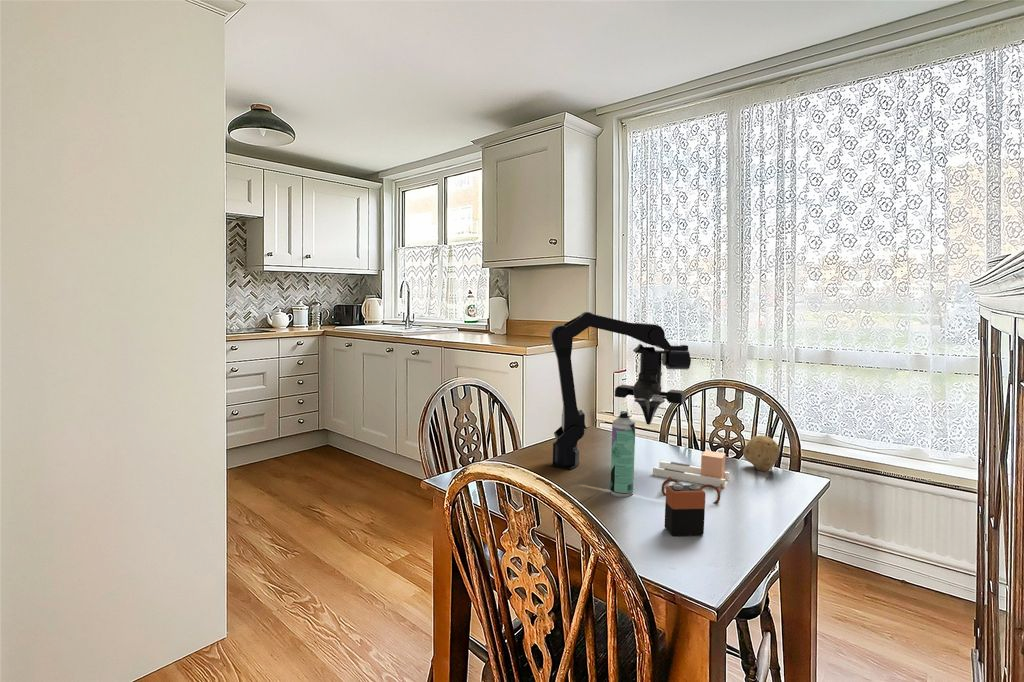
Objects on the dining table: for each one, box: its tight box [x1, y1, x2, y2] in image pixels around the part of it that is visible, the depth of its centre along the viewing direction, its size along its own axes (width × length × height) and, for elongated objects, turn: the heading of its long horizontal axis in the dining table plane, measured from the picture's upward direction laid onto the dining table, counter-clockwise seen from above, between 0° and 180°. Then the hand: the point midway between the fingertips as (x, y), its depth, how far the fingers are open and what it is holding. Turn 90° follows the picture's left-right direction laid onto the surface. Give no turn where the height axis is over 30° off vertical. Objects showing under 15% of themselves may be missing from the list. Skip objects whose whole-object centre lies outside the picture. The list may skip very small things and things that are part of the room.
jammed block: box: [700, 450, 727, 479], centre depth 141 cm, size 5×5×7 cm
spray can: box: [609, 410, 636, 498], centre depth 132 cm, size 6×6×20 cm
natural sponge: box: [742, 434, 780, 472], centre depth 151 cm, size 9×9×10 cm
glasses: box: [661, 477, 723, 505], centre depth 134 cm, size 13×13×5 cm
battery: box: [664, 482, 706, 537], centre depth 111 cm, size 4×7×10 cm, turn 95°
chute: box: [652, 460, 731, 489], centre depth 144 cm, size 18×7×3 cm, turn 60°
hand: (648, 424), depth 154 cm, fingers closed
